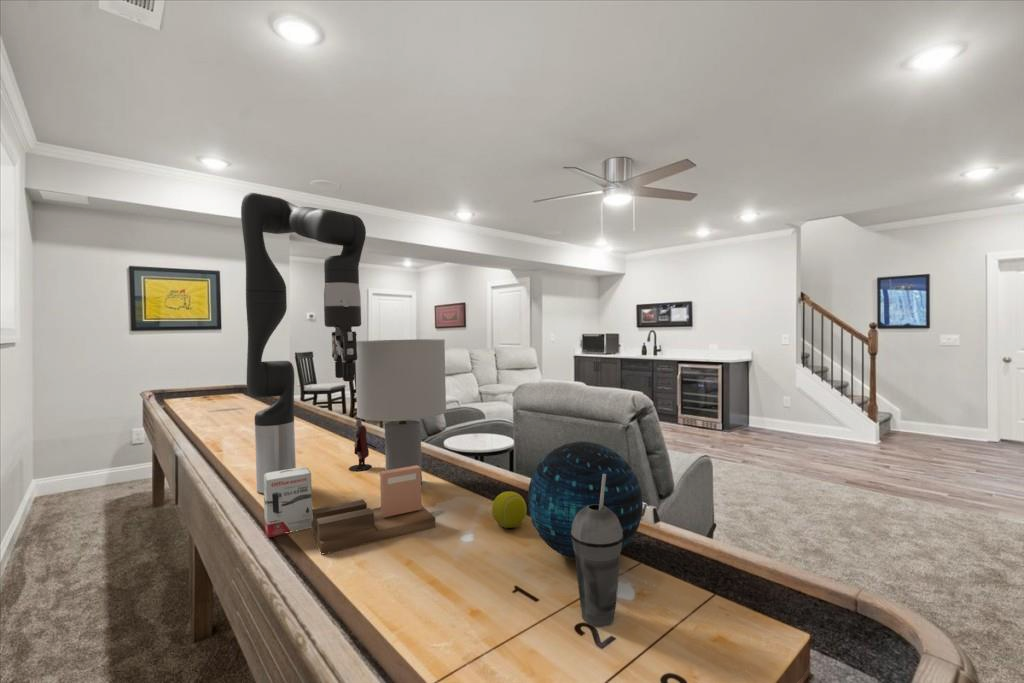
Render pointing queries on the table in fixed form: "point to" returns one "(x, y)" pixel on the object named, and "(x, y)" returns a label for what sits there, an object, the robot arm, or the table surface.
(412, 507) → the stub
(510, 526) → the tennis ball
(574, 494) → the decorative sphere
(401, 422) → the lamp
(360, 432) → the figurine
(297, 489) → the ink box
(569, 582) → the table surface
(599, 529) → the beverage cup
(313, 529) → the block
